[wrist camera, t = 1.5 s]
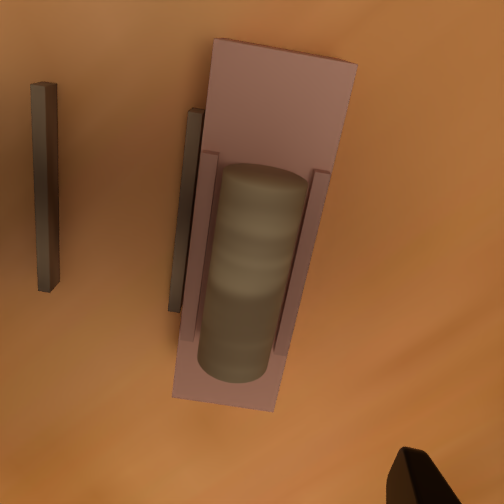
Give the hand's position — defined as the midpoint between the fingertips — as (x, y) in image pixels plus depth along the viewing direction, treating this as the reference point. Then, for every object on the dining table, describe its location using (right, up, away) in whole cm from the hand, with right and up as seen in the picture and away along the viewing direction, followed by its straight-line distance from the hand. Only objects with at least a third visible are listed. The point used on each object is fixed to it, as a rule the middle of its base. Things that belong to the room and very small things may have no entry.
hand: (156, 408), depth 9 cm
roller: (+2, +3, +11) cm, 11 cm away
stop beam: (+2, +4, +14) cm, 15 cm away
